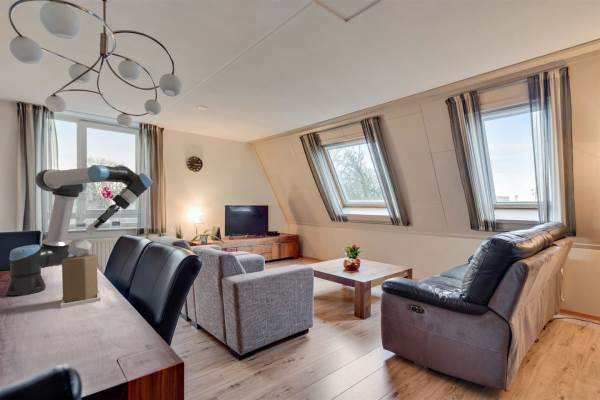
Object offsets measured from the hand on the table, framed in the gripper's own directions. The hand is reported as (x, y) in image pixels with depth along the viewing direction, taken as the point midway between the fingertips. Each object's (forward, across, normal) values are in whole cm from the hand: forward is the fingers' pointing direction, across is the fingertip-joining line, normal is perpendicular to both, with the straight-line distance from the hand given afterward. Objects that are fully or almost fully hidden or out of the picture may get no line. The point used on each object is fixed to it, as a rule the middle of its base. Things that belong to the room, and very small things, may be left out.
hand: (88, 232), depth 140 cm
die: (+10, 0, +6) cm, 12 cm away
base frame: (+24, 0, +20) cm, 31 cm away
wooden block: (+24, 0, +20) cm, 31 cm away
